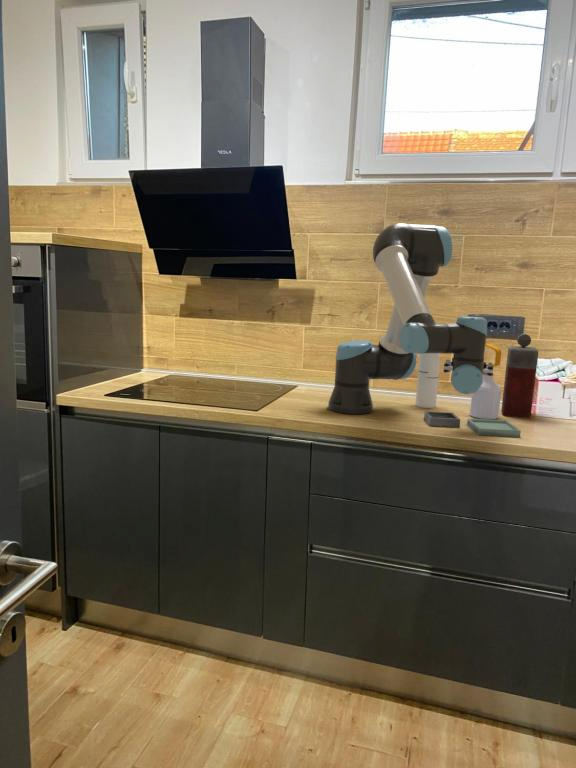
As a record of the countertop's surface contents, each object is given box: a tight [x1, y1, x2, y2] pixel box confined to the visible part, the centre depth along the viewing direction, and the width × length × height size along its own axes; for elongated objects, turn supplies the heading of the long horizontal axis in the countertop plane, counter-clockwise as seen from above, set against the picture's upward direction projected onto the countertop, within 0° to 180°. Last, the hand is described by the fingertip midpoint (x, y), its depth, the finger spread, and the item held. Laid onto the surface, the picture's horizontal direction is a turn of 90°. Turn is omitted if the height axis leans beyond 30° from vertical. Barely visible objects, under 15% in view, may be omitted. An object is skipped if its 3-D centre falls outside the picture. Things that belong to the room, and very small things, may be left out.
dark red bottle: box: [501, 333, 539, 419], centre depth 196 cm, size 9×11×28 cm
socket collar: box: [423, 410, 461, 428], centre depth 180 cm, size 9×9×2 cm
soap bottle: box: [469, 343, 502, 420], centre depth 190 cm, size 9×9×25 cm
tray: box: [466, 418, 521, 438], centre depth 173 cm, size 12×12×2 cm
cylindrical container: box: [415, 353, 441, 409], centre depth 203 cm, size 7×7×25 cm
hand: (468, 362), depth 178 cm, fingers closed on beverage cup, 6 cm apart
